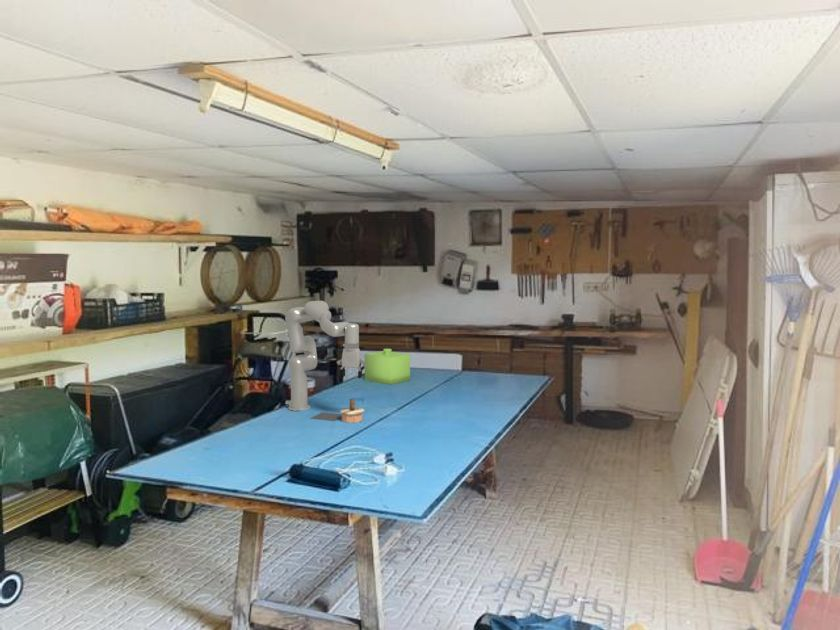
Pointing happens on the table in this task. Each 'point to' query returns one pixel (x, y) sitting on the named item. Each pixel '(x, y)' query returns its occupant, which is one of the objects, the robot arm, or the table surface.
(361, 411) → the lid
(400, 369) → the canister
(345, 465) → the table surface
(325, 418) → the mat
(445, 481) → the table surface
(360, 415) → the bowl
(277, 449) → the table surface
